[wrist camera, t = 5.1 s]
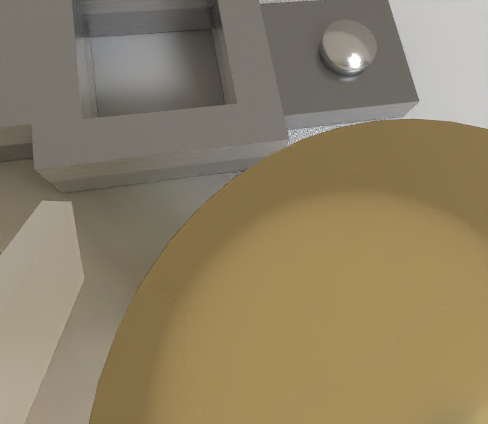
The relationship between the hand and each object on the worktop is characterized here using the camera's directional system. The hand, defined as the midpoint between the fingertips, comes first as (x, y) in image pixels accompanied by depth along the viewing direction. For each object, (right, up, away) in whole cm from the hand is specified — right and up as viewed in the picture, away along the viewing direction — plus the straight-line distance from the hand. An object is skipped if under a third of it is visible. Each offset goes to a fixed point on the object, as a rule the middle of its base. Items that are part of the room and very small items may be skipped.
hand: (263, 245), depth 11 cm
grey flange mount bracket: (-5, +7, +7) cm, 11 cm away
